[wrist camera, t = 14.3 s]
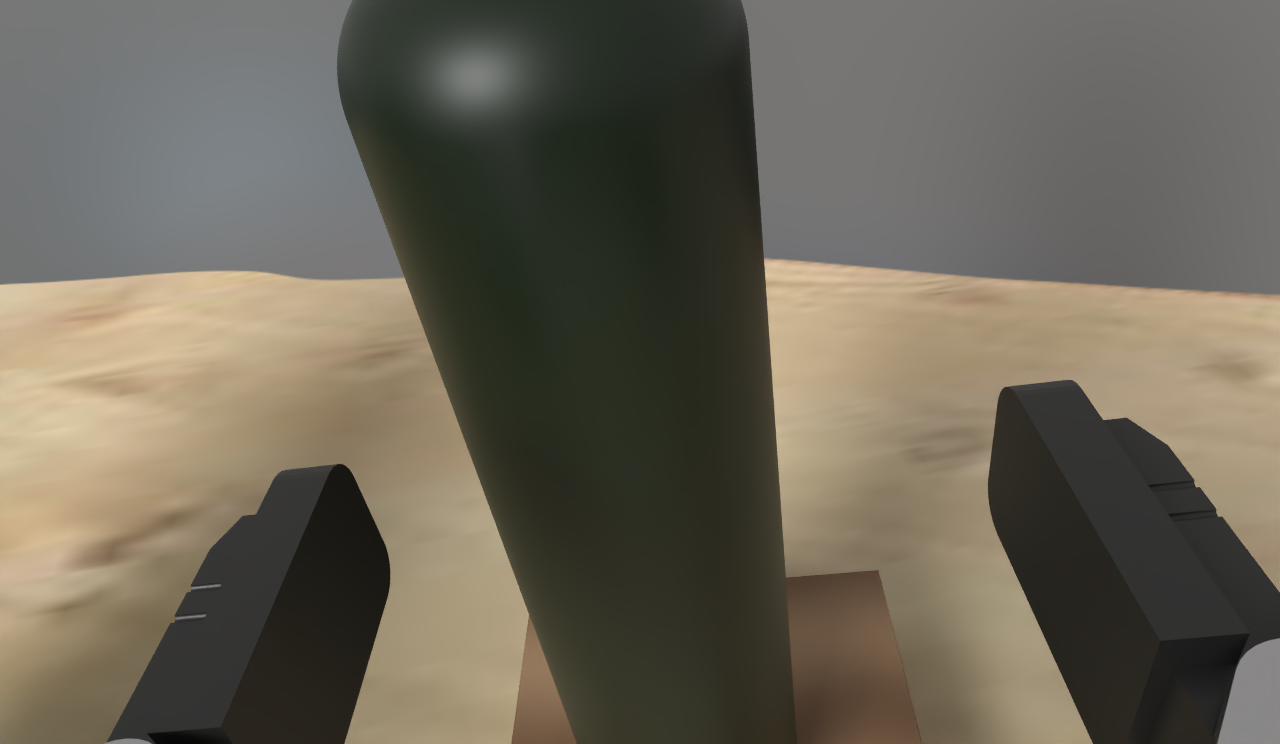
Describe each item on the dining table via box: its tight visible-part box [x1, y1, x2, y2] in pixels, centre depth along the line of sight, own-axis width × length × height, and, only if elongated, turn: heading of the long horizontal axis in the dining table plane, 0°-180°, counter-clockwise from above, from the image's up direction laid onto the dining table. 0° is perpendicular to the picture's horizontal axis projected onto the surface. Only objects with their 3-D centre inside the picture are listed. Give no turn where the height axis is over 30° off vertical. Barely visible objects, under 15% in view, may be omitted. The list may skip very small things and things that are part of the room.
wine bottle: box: [337, 0, 797, 744], centre depth 16 cm, size 6×6×30 cm
